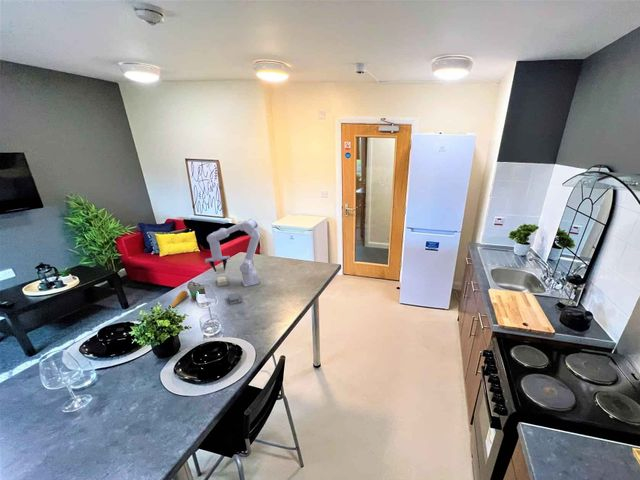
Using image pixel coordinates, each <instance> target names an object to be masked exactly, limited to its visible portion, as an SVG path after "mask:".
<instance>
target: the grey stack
mask: <svg viewBox="0 0 640 480" xmlns="http://www.w3.org/2000/svg"><path fill="white" fill-rule="evenodd" d="M227 295H228V300H229V304H230V305H235V304H239V303H241V302H242V300H241V298H240V297H241V296H240V294H239V293H238V292H234V293H233V292H232V293H229V294H227Z"/></svg>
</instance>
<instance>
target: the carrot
mask: <svg viewBox="0 0 640 480" xmlns="http://www.w3.org/2000/svg"><path fill="white" fill-rule="evenodd" d="M188 295H189V293H188V291H186V290H181V291H180V292H179V293H178V295H177V296H176V298H175V299H174V300H173V302H172V303H171V305H170V306H172V307H173V308H175V307H176V306H177V305H178V304H179V303H181V302H182V301H183V300H184V299H185V298H186V297H188Z"/></svg>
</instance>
